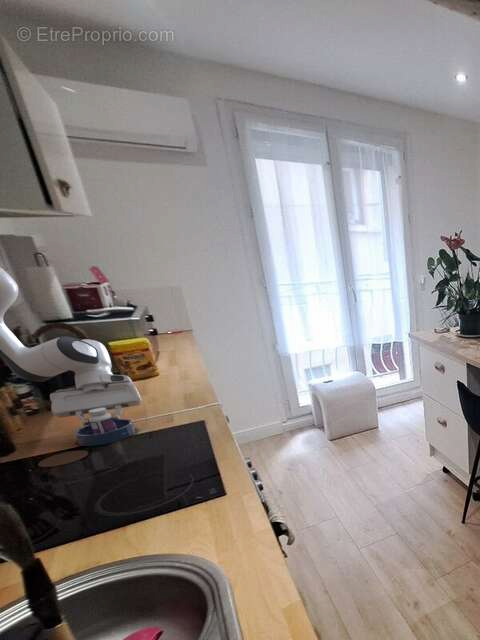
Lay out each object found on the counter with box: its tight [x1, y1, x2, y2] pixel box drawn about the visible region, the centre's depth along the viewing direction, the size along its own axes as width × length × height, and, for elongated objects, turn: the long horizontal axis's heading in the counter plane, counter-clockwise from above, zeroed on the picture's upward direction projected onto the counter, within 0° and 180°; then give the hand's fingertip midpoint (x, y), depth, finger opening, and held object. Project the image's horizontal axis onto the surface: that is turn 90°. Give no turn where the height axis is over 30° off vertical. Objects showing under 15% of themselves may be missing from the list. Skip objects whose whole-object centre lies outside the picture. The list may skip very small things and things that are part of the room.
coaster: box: [37, 449, 89, 468], centre depth 119 cm, size 10×10×1 cm
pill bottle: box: [88, 408, 117, 434], centre depth 131 cm, size 5×5×10 cm
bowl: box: [74, 418, 137, 447], centre depth 132 cm, size 13×13×4 cm
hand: (101, 421), depth 131 cm, fingers closed on pill bottle, 5 cm apart
